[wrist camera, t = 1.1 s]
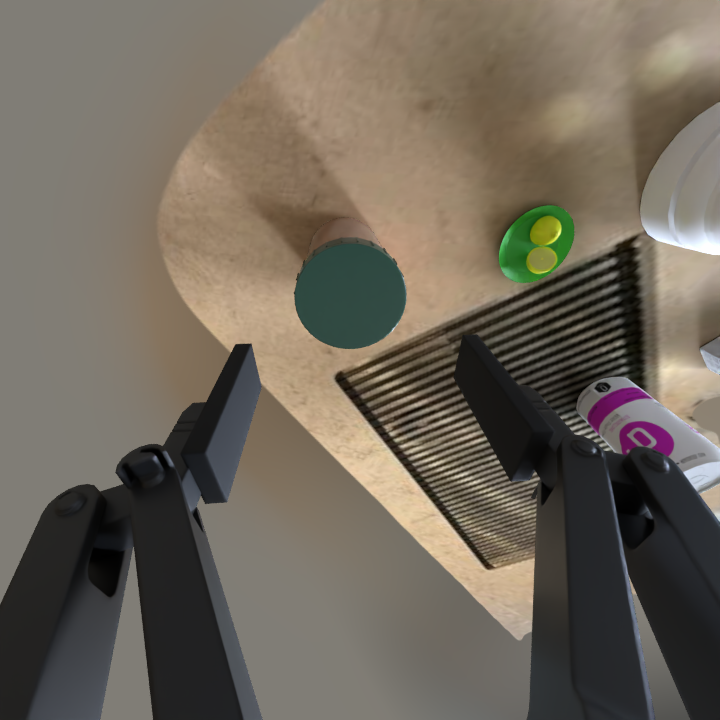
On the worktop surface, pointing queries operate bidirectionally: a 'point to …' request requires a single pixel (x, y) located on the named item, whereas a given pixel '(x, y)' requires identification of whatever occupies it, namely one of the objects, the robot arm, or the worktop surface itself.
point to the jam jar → (341, 232)
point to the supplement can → (648, 428)
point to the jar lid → (350, 293)
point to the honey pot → (687, 188)
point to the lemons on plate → (536, 244)
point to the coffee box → (712, 355)
